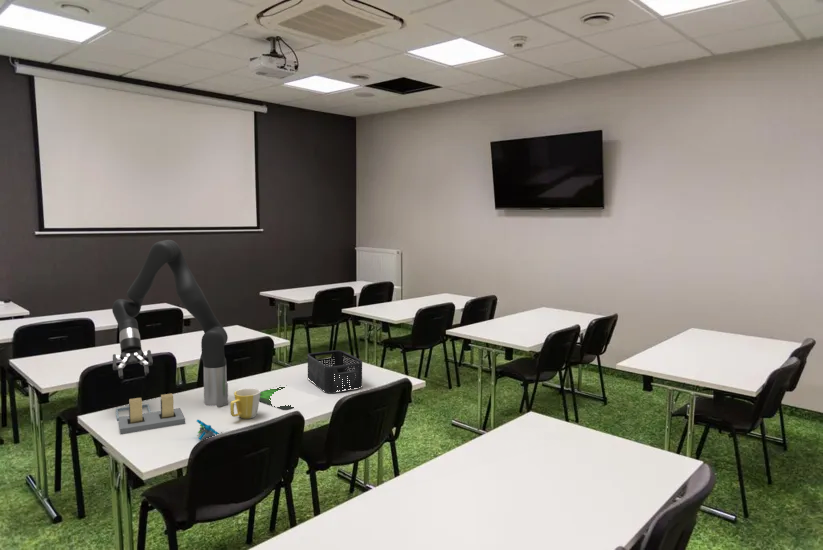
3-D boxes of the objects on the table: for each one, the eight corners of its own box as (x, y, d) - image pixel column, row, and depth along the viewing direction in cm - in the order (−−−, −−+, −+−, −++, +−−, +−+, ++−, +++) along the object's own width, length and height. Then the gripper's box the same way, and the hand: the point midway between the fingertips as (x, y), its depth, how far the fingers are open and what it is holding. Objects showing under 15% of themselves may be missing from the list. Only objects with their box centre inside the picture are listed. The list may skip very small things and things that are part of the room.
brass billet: (141, 422, 204) (141, 397, 203) (142, 426, 201) (141, 400, 200) (129, 424, 202) (128, 399, 201) (130, 428, 199) (129, 402, 198)
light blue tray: (148, 408, 222) (148, 403, 221) (151, 418, 211) (151, 413, 211) (115, 413, 215) (115, 408, 215) (117, 423, 205) (117, 418, 205)
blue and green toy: (225, 435, 193) (204, 420, 189) (214, 449, 190) (193, 434, 186) (214, 429, 202) (194, 415, 197) (204, 443, 199) (183, 429, 194)
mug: (251, 410, 223) (251, 386, 222) (265, 416, 217) (265, 391, 216) (221, 419, 212) (221, 393, 211) (236, 425, 206) (236, 399, 205)
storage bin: (305, 378, 269) (305, 352, 267) (340, 373, 279) (340, 348, 277) (327, 395, 245) (327, 367, 243) (364, 389, 255) (365, 362, 253)
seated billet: (172, 417, 210) (171, 393, 209) (173, 421, 206) (173, 396, 205) (160, 419, 208) (160, 395, 206) (161, 423, 204) (161, 398, 203)
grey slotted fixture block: (180, 414, 215) (180, 407, 215) (185, 426, 204) (185, 418, 204) (118, 424, 204) (118, 417, 204) (120, 436, 193) (120, 429, 193)
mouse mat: (323, 398, 241) (323, 396, 241) (286, 412, 223) (286, 409, 223) (282, 386, 256) (282, 384, 256) (245, 398, 238) (245, 395, 238)
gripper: (110, 338, 211) (113, 374, 204) (149, 334, 219) (154, 368, 211) (110, 348, 217) (114, 383, 209) (149, 343, 224) (153, 377, 216)
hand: (134, 376), depth 210 cm, fingers open, 8 cm apart
